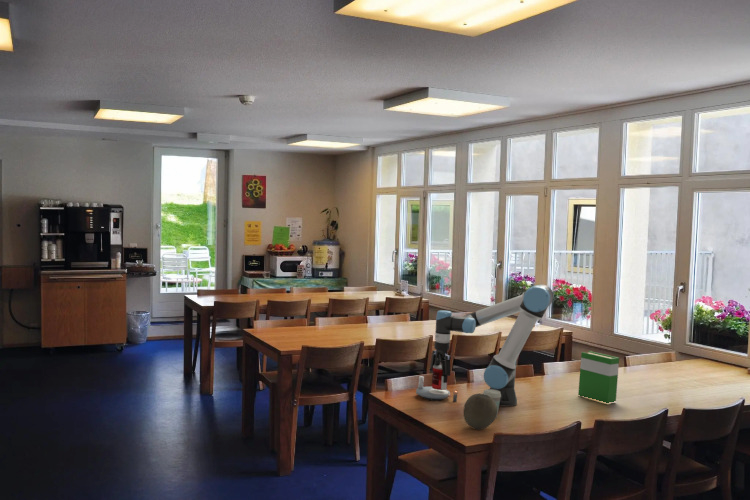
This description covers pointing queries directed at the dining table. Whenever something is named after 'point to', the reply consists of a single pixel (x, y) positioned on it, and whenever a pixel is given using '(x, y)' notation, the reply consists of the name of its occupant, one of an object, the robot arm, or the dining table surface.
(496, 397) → the coffee cup
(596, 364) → the hardback book
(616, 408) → the dining table surface
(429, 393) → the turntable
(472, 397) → the cantaloupe
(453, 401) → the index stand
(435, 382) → the canned food
